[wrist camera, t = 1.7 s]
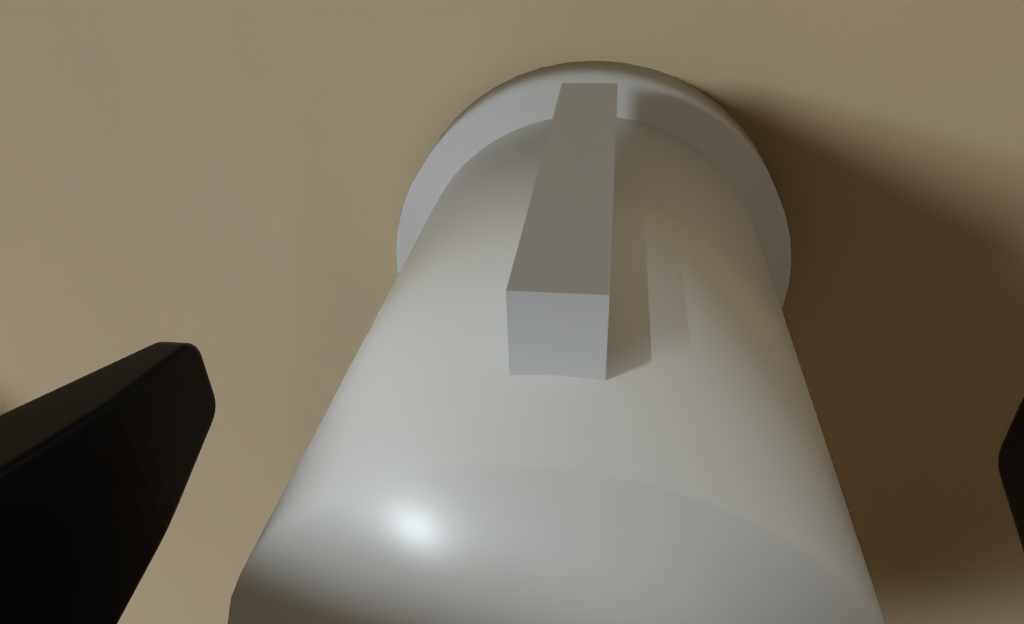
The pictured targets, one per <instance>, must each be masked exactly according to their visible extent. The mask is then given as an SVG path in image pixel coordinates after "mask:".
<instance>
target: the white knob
mask: <svg viewBox="0 0 1024 624" xmlns="http://www.w3.org/2000/svg"><path fill="white" fill-rule="evenodd" d="M396 255H397V271H398V277H397V279H396V280H395V282H394V284H393V286H392V288H391V290H390V292H389V294H388V296H387V297H386V299H385V301H384V303H383V305H382V307H381V309H380V311H379V313H378V315H377V316H376V318H375V320H374V322H373V324H372V326H371V328H370V330H369V332H368V333H367V335H366V337H365V339H364V341H363V343H362V345H361V347H360V349H359V350H358V352H357V354H356V356H355V358H354V360H353V362H352V364H351V366H350V368H349V369H348V371H347V373H346V375H345V377H344V379H343V381H342V383H341V385H340V386H339V388H338V390H337V392H336V394H335V396H334V398H333V400H332V402H331V403H330V405H329V407H328V409H327V411H326V413H325V415H324V417H323V419H322V421H321V422H320V424H319V426H318V428H317V430H316V432H315V434H314V436H313V438H312V439H311V441H310V443H309V445H308V447H307V449H306V451H305V453H304V455H303V456H302V458H301V460H300V462H299V464H298V466H297V468H296V470H295V472H294V474H293V475H292V477H291V479H290V481H289V483H288V485H287V487H286V489H285V491H284V492H283V494H282V496H281V498H280V500H279V502H278V504H277V506H276V508H275V509H274V511H273V513H272V515H271V517H270V519H269V521H268V523H267V525H266V527H265V528H264V530H263V532H262V534H261V536H260V538H259V540H258V542H257V544H256V545H255V547H254V549H253V551H252V553H251V555H250V557H249V559H248V561H247V562H246V564H245V566H244V568H243V570H242V572H241V574H240V577H239V579H238V582H237V584H236V587H235V589H234V592H233V595H232V597H231V604H230V611H229V618H228V624H886V623H885V620H884V617H883V614H882V611H881V608H880V605H879V602H878V599H877V596H876V593H875V590H874V587H873V584H872V581H871V578H870V575H869V572H868V569H867V566H866V563H865V560H864V557H863V554H862V551H861V548H860V545H859V542H858V539H857V536H856V533H855V530H854V527H853V524H852V521H851V518H850V515H849V512H848V508H847V505H846V502H845V499H844V496H843V493H842V490H841V487H840V484H839V481H838V478H837V475H836V472H835V469H834V466H833V463H832V460H831V457H830V454H829V451H828V448H827V445H826V442H825V439H824V436H823V433H822V430H821V427H820V424H819V421H818V418H817V415H816V412H815V409H814V406H813V403H812V400H811V397H810V394H809V391H808V388H807V385H806V382H805V379H804V376H803V373H802V370H801V367H800V363H799V360H798V357H797V354H796V351H795V348H794V345H793V342H792V339H791V336H790V333H789V330H788V327H787V324H786V321H785V318H784V315H783V312H782V308H783V304H784V301H785V297H786V294H787V290H788V287H789V278H790V270H791V240H790V235H789V229H788V224H787V219H786V215H785V212H784V209H783V207H782V204H781V201H780V198H779V196H778V193H777V191H776V188H775V186H774V184H773V181H772V179H771V177H770V174H769V172H768V170H767V167H766V165H765V163H764V161H763V159H762V157H761V156H760V154H759V152H758V150H757V148H756V146H755V145H754V143H753V141H752V140H751V139H750V137H749V136H748V135H747V134H746V132H745V131H744V130H743V128H742V127H741V126H740V124H739V123H738V122H737V121H736V120H735V119H734V118H733V117H732V116H731V115H730V114H729V113H728V112H727V111H726V110H725V109H724V108H722V107H721V106H720V105H719V104H718V103H717V102H715V101H714V100H712V99H711V98H710V97H708V96H707V95H705V94H704V93H703V92H701V91H700V90H698V89H696V88H695V87H693V86H691V85H689V84H687V83H685V82H683V81H681V80H679V79H677V78H675V77H673V76H670V75H667V74H664V73H662V72H659V71H656V70H653V69H650V68H646V67H641V66H637V65H632V64H627V63H621V62H607V61H582V62H568V63H563V64H558V65H553V66H548V67H543V68H539V69H537V70H534V71H531V72H528V73H525V74H522V75H519V76H516V77H515V78H513V79H511V80H509V81H507V82H505V83H503V84H501V85H499V86H497V87H495V88H493V89H492V90H490V91H489V92H487V93H486V94H484V95H483V96H482V97H480V98H479V99H477V100H476V101H474V102H473V103H472V104H471V105H470V106H469V107H468V108H467V109H466V110H464V111H463V112H462V113H461V114H460V115H459V116H458V117H457V118H456V119H455V120H454V121H453V123H452V124H451V125H450V126H449V127H448V129H447V130H446V131H445V132H444V134H443V135H442V136H441V137H440V139H439V141H438V142H437V144H436V145H435V147H434V149H433V150H432V152H431V153H430V155H429V156H428V158H427V160H426V161H425V163H424V165H423V166H422V168H421V170H420V171H419V173H418V175H417V176H416V178H415V180H414V181H413V183H412V185H411V188H410V190H409V193H408V195H407V198H406V200H405V202H404V205H403V209H402V213H401V217H400V221H399V226H398V234H397V245H396Z"/></svg>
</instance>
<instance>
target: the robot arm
mask: <svg viewBox="0 0 1024 624" xmlns="http://www.w3.org/2000/svg"><path fill="white" fill-rule="evenodd" d="M214 414H215V397H214V393H213V390H212V387H211V384H210V381H209V378H208V375H207V372H206V368H205V365H204V362H203V359H202V356H201V353H200V351H199V350H198V349H197V347H196V346H194V345H192V344H190V343H177V342H158V343H155V344H153V345H151V346H148V347H146V348H144V349H142V350H140V351H138V352H136V353H133V354H131V355H129V356H127V357H125V358H123V359H121V360H118V361H116V362H114V363H112V364H110V365H108V366H105V367H103V368H101V369H99V370H97V371H95V372H93V373H90V374H88V375H86V376H84V377H82V378H80V379H78V380H75V381H73V382H71V383H69V384H67V385H65V386H62V387H60V388H58V389H56V390H54V391H52V392H50V393H47V394H45V395H43V396H41V397H39V398H37V399H35V400H32V401H30V402H28V403H26V404H24V405H22V406H19V407H17V408H15V409H13V410H11V411H9V412H7V413H4V414H2V415H0V624H117V623H118V621H119V619H120V617H121V615H122V614H123V612H124V610H125V608H126V606H127V604H128V602H129V601H130V599H131V597H132V595H133V593H134V591H135V589H136V588H137V586H138V584H139V582H140V580H141V578H142V577H143V575H144V573H145V571H146V569H147V567H148V565H149V564H150V562H151V560H152V558H153V556H154V554H155V552H156V551H157V549H158V547H159V545H160V543H161V541H162V539H163V537H164V535H165V533H166V531H167V529H168V527H169V524H170V522H171V520H172V518H173V515H174V513H175V511H176V509H177V506H178V504H179V501H180V499H181V496H182V494H183V492H184V489H185V487H186V484H187V482H188V479H189V477H190V474H191V472H192V470H193V467H194V465H195V462H196V460H197V457H198V455H199V453H200V450H201V448H202V445H203V443H204V440H205V438H206V436H207V433H208V431H209V428H210V426H211V423H212V421H213V418H214ZM998 466H999V473H1000V477H1001V480H1002V483H1003V486H1004V490H1005V493H1006V496H1007V499H1008V502H1009V506H1010V509H1011V512H1012V515H1013V518H1014V522H1015V525H1016V528H1017V531H1018V535H1019V538H1020V541H1021V544H1022V547H1023V551H1024V398H1023V400H1022V402H1021V403H1020V405H1019V408H1018V410H1017V412H1016V414H1015V417H1014V419H1013V421H1012V423H1011V426H1010V428H1009V430H1008V432H1007V435H1006V437H1005V439H1004V441H1003V444H1002V446H1001V449H1000V452H999V457H998Z"/></svg>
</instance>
